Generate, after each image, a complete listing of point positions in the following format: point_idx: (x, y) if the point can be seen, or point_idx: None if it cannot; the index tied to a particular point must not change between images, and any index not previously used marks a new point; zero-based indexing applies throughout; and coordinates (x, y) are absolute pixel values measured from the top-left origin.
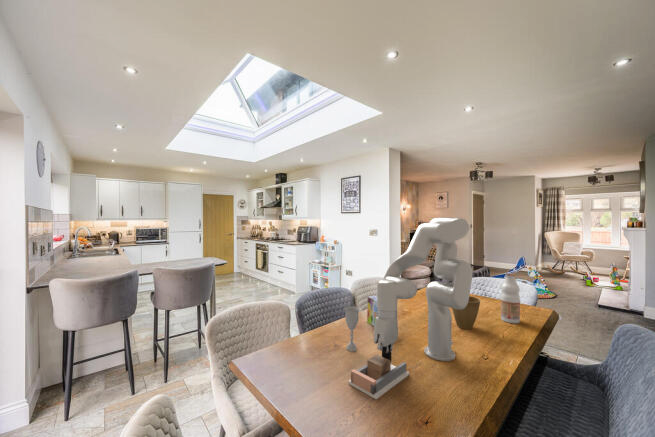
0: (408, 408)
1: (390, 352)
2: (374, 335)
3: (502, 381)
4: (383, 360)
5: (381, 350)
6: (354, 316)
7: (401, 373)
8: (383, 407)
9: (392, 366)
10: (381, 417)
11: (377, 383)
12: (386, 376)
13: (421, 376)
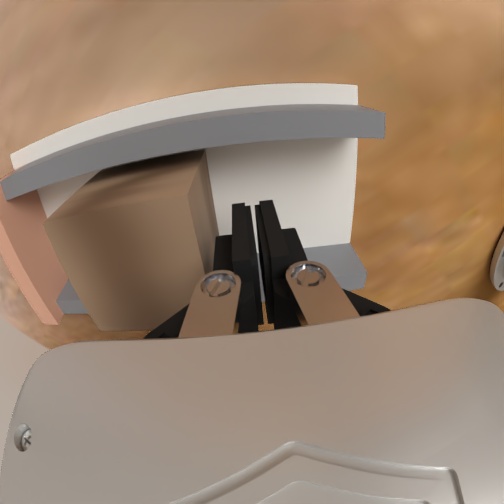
0: None
1: (275, 326)
2: (9, 480)
3: None
4: (162, 302)
5: (200, 285)
6: None
7: None
8: (81, 320)
9: (338, 181)
10: (62, 333)
11: (71, 311)
12: None
13: (363, 294)
